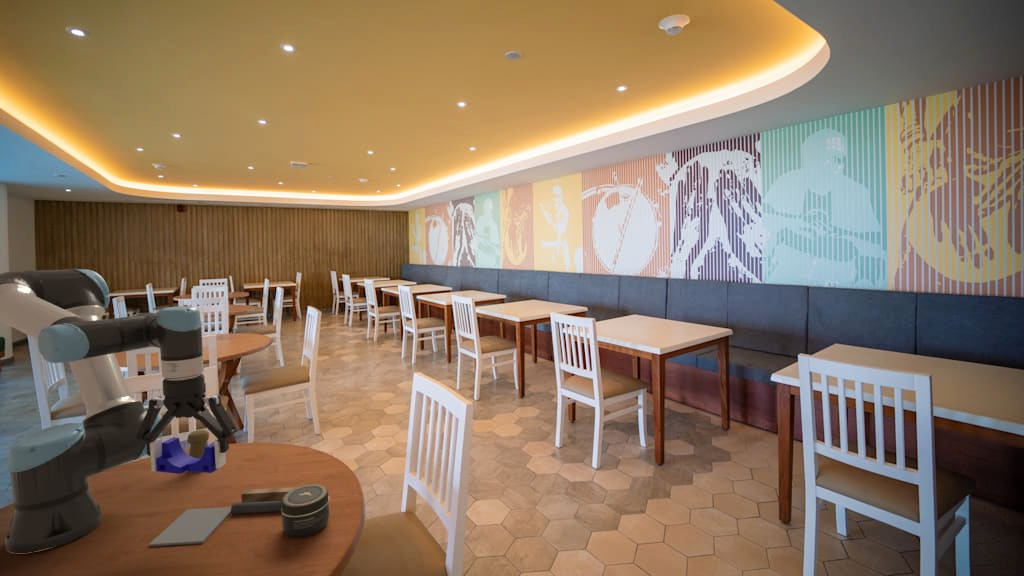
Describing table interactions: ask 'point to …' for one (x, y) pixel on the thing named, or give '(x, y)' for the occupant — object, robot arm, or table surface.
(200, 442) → the cork
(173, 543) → the mat
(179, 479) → the table surface
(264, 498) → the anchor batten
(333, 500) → the table surface
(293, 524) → the jar
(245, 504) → the rod
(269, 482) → the table surface
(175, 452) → the cable clip
